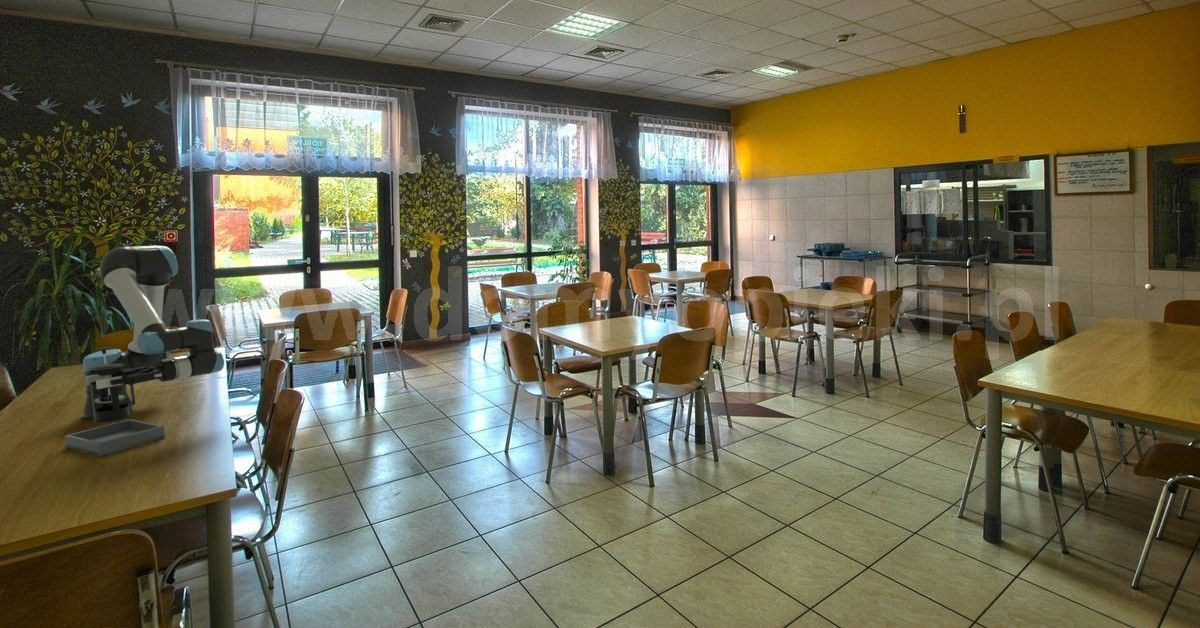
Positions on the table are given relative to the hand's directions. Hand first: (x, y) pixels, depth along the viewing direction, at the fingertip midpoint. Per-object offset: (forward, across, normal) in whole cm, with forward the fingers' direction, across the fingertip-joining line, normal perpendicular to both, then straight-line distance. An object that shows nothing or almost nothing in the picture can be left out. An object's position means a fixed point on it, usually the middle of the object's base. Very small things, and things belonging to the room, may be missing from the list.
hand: (91, 382), depth 198 cm
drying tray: (-5, 0, -21) cm, 21 cm away
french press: (-5, 0, -13) cm, 14 cm away
